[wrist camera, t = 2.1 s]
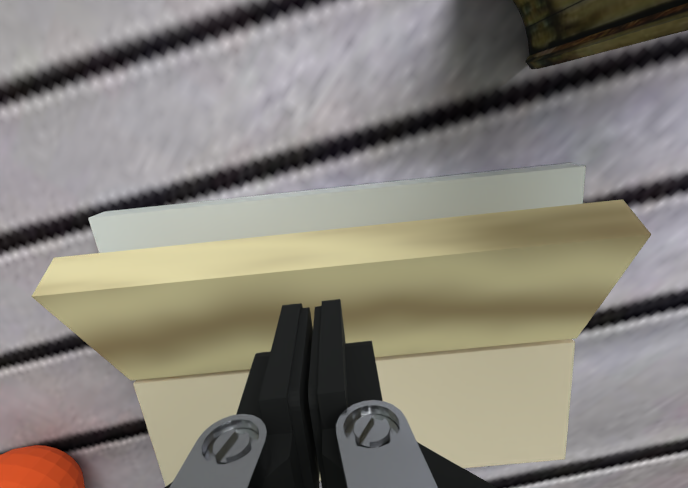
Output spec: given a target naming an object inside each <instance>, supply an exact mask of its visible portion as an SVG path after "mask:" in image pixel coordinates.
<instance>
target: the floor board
mask: <svg viewBox="0 0 688 488" xmlns="http://www.w3.org/2000/svg"><path fill="white" fill-rule="evenodd" d="M585 170H586V166H583V165H578V164H573V163H563V164H554V165H544V166H535V167H525V168H516V169H506V170H497V171H487V172H478V173H468V174H458V175H449V176H439V177H430V178H420V179H411V180H401V181H392V182H382V183H373V184H363V185H354V186H344V187H335V188H325V189H315V190H306V191H296V192H287V193H277V194H268V195H258V196H249V197H239V198H230V199H220V200H211V201H201V202H192V203H182V204H173V205H163V206H153V207H144V208H134V209H125V210H115V211H106V212H102V213H100V214H97V215H95V216H92V217H90V218H88V219H89V222H90V225H91V228H92V232H93V235H94V238H95V241H96V245H97V248H98V251H99V253H106V252H116V251H126V250H135V249H145V248H155V247H165V246H174V245H184V244H194V243H204V242H213V241H223V240H233V239H243V238H252V237H262V236H272V235H282V234H291V233H301V232H311V231H321V230H330V229H340V228H350V227H360V226H369V225H379V224H389V223H399V222H409V221H418V220H428V219H438V218H448V217H457V216H467V215H477V214H487V213H496V212H506V211H516V210H526V209H535V208H545V207H555V206H565V205H574V204H583V194H584V182H585ZM574 349H575V342H574V341H573V340H572V339H564V340H553V341H543V342H532V343H522V344H511V345H501V346H490V347H480V348H469V349H458V350H448V351H437V352H427V353H416V354H406V355H395V356H384V357H375V361H376V367H377V372H378V378H379V383H380V389H381V394H382V400H383V401H384V402H387V403H390V404H392V405H394V406H395V407H397V408H398V409H400V410H401V411H402V413H403V414H404V416H405V417H406V419H407V421H408V424H409V426H410V428H411V430H412V432H413V434H414V437H415V439H416V441H417V442H418V443H420V444H422V445H423V446H425V447H427V448H429V449H430V450H432V451H434V452H436V453H437V454H439V455H441V456H442V457H444V458H446V459H448V460H449V461H451V462H453V463H455V464H456V465H458V466H460V467H462V468H472V467H483V466H494V465H506V464H517V463H529V462H540V461H551V460H563V459H565V453H566V442H567V430H568V418H569V407H570V395H571V384H572V372H573V361H574ZM249 372H250V369H247V370H237V371H226V372H215V373H205V374H194V375H184V376H173V377H163V378H152V379H142V380H136V381H135V382H134V384H133V385H134V388H135V391H136V394H137V397H138V401H139V404H140V407H141V410H142V413H143V416H144V419H145V423H146V426H147V429H148V432H149V435H150V438H151V442H152V445H153V448H154V451H155V454H156V457H157V460H158V464H159V467H160V470H161V473H162V476H163V479H164V482H165V486H167V485H169V484H170V483H172V482H173V480H174V479H175V477H176V475H177V474H178V472H179V470H180V468H181V467H182V465H183V463H184V462H185V460H186V458H187V457H188V455H189V453H190V451H191V450H192V448H193V446H194V445H195V443H196V441H197V440H198V438H199V437H200V436H201V434H202V433H203V432H204V431H205V430H206V429H207V428H208V427H210V426H211V425H212V424H214V423H215V422H217V421H219V420H221V419H223V418H226V417H229V416H232V415H236V414H237V410H238V407H239V404H240V401H241V398H242V394H243V391H244V388H245V385H246V382H247V378H248V375H249ZM319 481H321V477H319Z"/></svg>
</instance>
